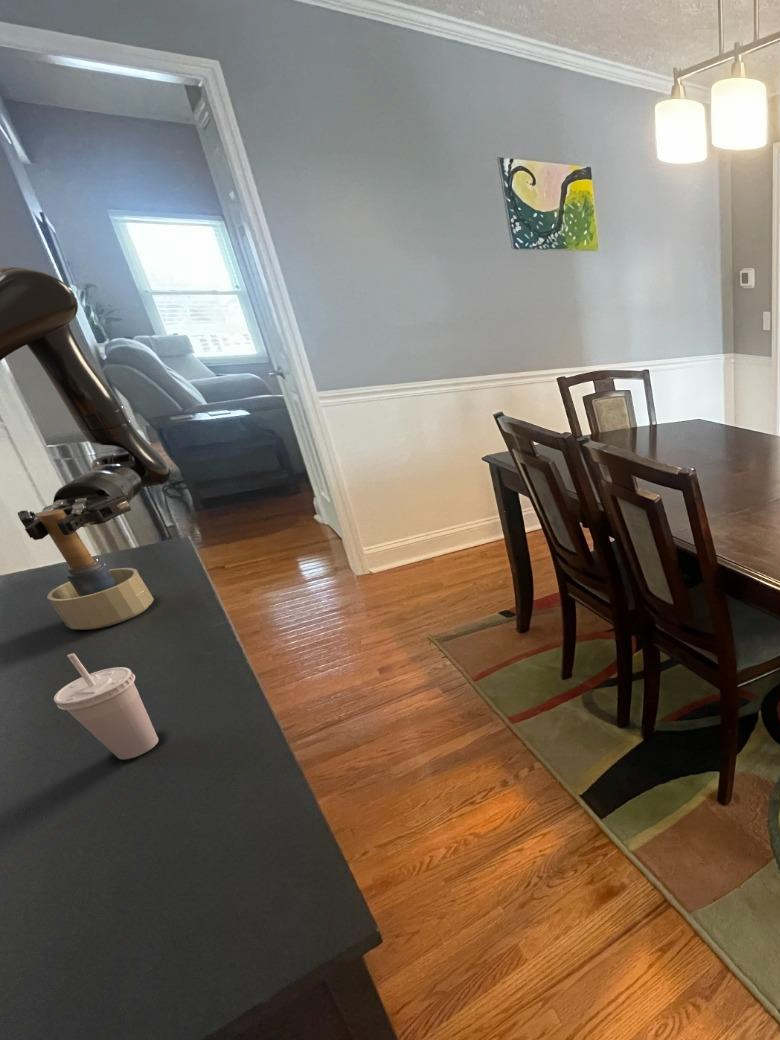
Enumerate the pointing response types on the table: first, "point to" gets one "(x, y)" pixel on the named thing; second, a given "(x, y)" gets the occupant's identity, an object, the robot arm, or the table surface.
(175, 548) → the table surface
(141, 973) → the table surface
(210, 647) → the table surface
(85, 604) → the bowl
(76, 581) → the brush
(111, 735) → the smoothie
